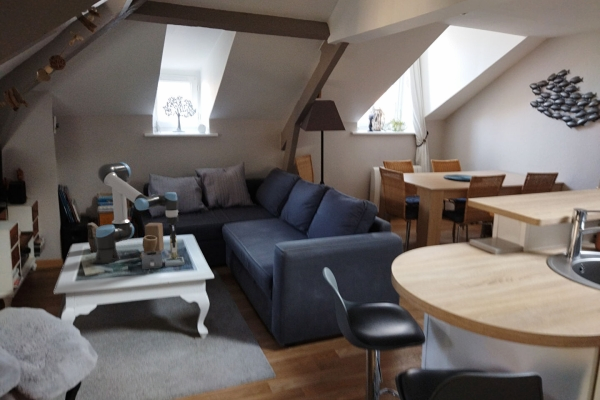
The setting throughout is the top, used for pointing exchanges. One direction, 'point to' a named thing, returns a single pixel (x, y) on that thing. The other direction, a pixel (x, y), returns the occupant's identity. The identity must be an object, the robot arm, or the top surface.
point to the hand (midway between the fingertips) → (173, 251)
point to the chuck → (151, 259)
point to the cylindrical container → (173, 254)
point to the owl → (92, 236)
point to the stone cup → (149, 243)
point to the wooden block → (155, 234)
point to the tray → (174, 262)
